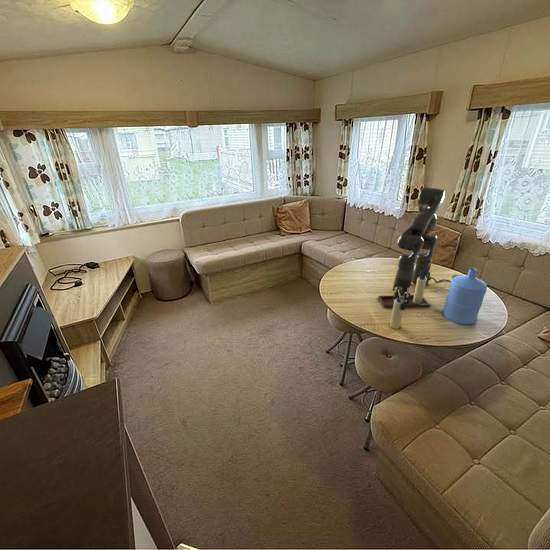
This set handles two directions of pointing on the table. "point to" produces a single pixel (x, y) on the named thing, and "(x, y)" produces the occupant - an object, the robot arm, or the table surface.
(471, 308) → the water jug
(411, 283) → the bottle
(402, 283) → the robot arm
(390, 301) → the tray
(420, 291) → the bottle
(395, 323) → the cream pillar candle
